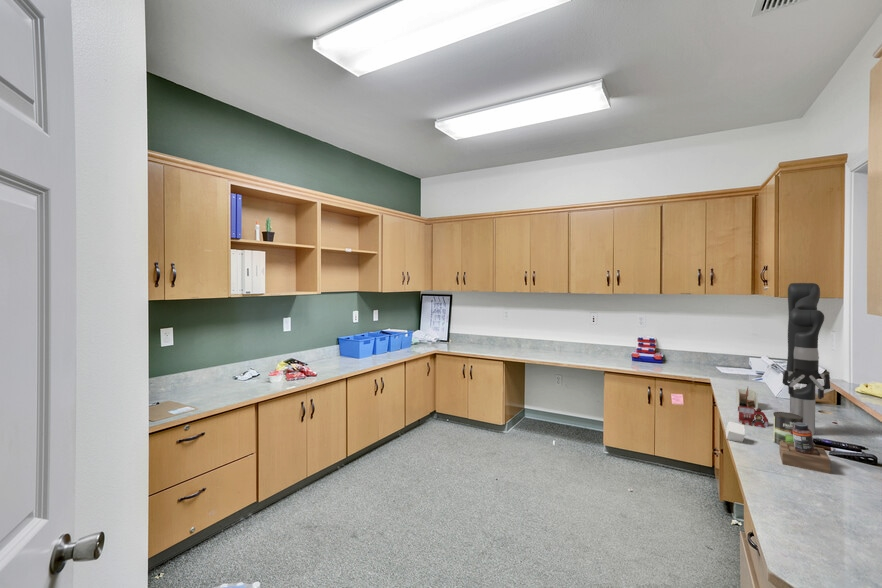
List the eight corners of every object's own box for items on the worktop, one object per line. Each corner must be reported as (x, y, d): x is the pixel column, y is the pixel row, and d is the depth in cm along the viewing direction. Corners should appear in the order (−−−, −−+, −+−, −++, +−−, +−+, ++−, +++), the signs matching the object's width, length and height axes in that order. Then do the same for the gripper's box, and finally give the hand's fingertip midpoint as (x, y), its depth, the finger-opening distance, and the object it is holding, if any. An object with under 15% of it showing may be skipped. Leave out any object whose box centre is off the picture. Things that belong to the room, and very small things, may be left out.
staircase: (738, 413, 228) (738, 385, 227) (736, 409, 237) (736, 381, 237) (757, 416, 223) (757, 387, 223) (754, 411, 232) (754, 383, 232)
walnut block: (779, 454, 171) (779, 440, 171) (823, 462, 163) (823, 448, 163) (782, 465, 160) (782, 451, 160) (830, 475, 152) (830, 460, 151)
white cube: (741, 433, 186) (744, 425, 183) (741, 443, 182) (745, 435, 179) (726, 429, 189) (728, 421, 186) (726, 439, 185) (729, 431, 182)
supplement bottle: (805, 447, 164) (802, 420, 164) (818, 453, 158) (815, 425, 158) (790, 448, 165) (787, 422, 164) (802, 454, 159) (799, 427, 158)
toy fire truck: (769, 432, 197) (769, 411, 197) (738, 427, 204) (738, 407, 204) (767, 428, 203) (767, 408, 203) (737, 423, 210) (737, 404, 210)
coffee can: (807, 451, 173) (808, 419, 173) (779, 448, 176) (779, 417, 176) (796, 443, 183) (796, 412, 182) (768, 440, 186) (769, 410, 186)
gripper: (826, 358, 161) (826, 397, 161) (781, 355, 168) (781, 392, 168) (832, 361, 154) (832, 402, 154) (785, 357, 162) (784, 396, 162)
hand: (805, 397), depth 161 cm, fingers open, 8 cm apart
